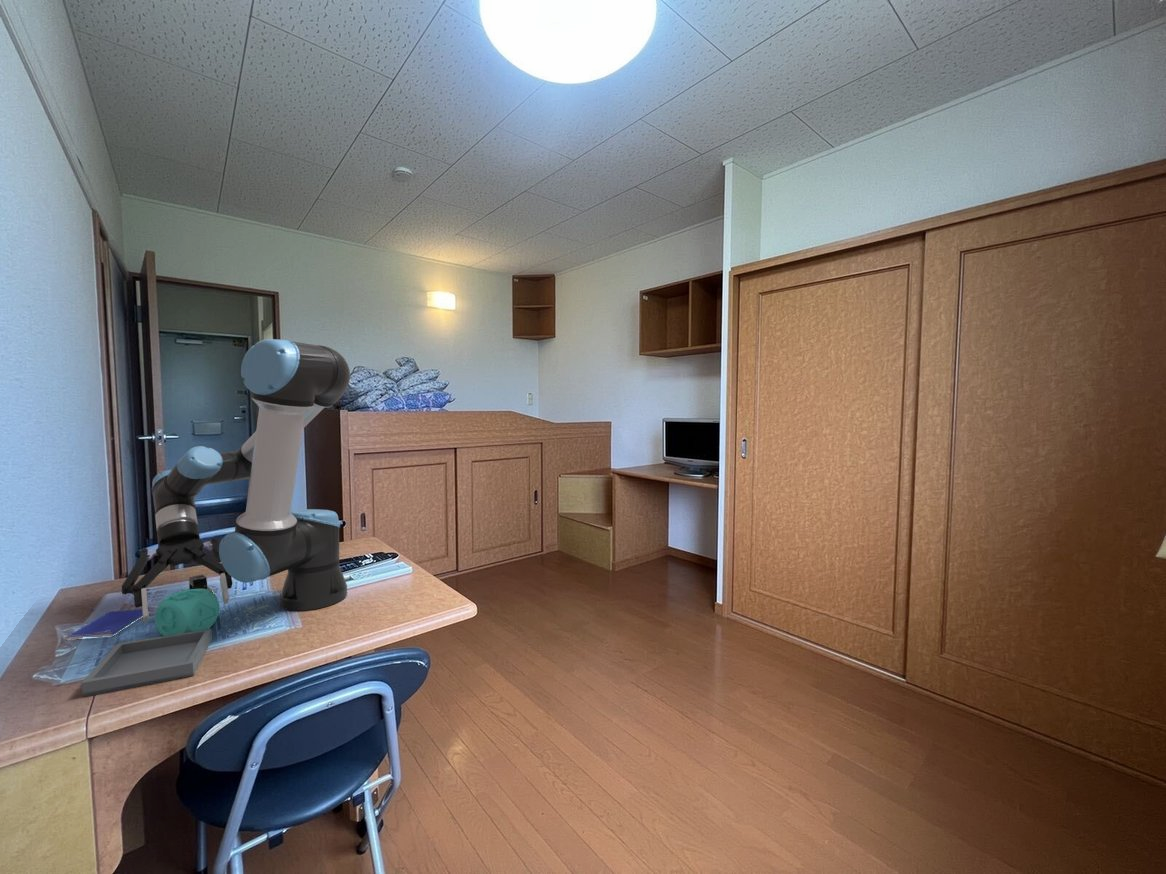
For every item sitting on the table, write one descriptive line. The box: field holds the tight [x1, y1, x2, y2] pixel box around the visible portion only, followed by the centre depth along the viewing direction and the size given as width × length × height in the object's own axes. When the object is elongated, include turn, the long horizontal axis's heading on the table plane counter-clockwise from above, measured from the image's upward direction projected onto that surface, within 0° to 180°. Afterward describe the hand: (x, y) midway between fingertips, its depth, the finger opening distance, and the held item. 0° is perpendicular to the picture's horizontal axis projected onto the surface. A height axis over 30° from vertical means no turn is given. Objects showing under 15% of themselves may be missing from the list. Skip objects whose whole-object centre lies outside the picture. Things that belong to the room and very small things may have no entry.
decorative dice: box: [154, 589, 220, 636], centre depth 106 cm, size 8×8×8 cm
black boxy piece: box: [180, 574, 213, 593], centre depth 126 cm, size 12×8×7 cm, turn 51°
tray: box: [81, 628, 213, 698], centre depth 92 cm, size 15×15×2 cm
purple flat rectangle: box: [65, 608, 151, 641], centre depth 107 cm, size 2×8×12 cm
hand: (188, 610), depth 104 cm, fingers open, 13 cm apart
